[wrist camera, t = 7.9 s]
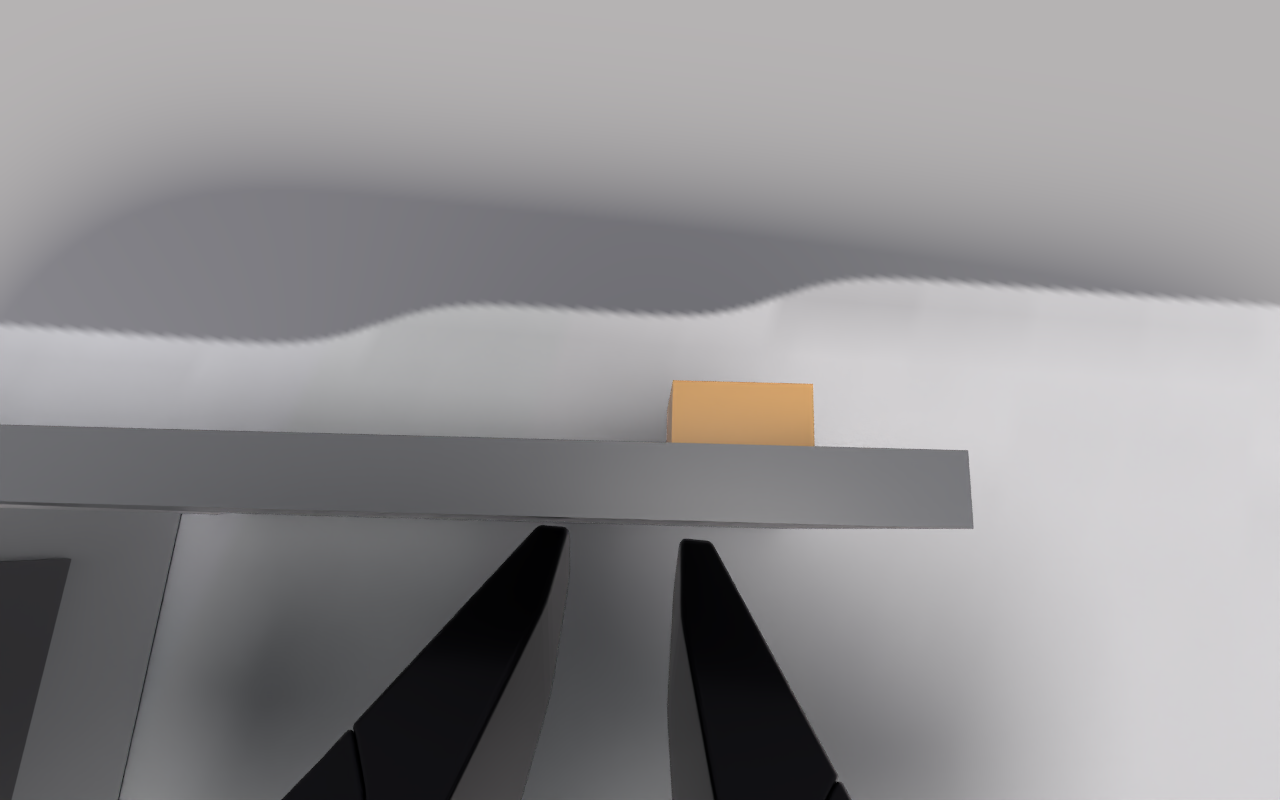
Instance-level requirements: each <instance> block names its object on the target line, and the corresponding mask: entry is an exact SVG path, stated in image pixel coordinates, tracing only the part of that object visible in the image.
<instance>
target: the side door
mask: <svg viewBox="0 0 1280 800" xmlns="http://www.w3.org/2000/svg"><path fill="white" fill-rule="evenodd" d="M0 508H24V509H55V510H86V511H117V512H148V513H179V514H210V515H218V514H222V513H247V514H282V515H318V516H353V517H389V518H424V519H460V520H495V521H531V522H566V523H602V524H637V525H673V526H708V527H744V528H779V529H974V528H973V513H972V499H971V485H970V471H969V457H968V450H931V449H894V448H856V447H819V446H814V409H813V384H795V383H756V382H717V381H677V380H673V382H672V388H671V393H670V398H669V403H668V408H667V440H666V442H631V441H594V440H556V439H519V438H481V437H444V436H406V435H369V434H331V433H294V432H256V431H219V430H181V429H144V428H106V427H69V426H31V425H0Z"/></svg>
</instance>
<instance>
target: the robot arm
mask: <svg viewBox="0 0 1280 800" xmlns="http://www.w3.org/2000/svg"><path fill="white" fill-rule="evenodd" d="M569 575H570V534H569V531H568V529H567V528H565V527H557V526H546V525H541V526H538V527H537V528H535V529H534V530H533V532H532V533H531V534H530V535H529V536H528V537H527V538H526V539H525V540H524V541H523V542H522V543H521V544H520V546H519V547H518V548H517V549H516V550H515V551H514V552H513V553H512V554H511V555H510V556H509V557H508V558H507V560H506V561H505V562H504V563H503V564H502V565H501V566H500V567H499V568H498V569H497V570H496V571H495V572H494V574H493V575H492V576H491V577H490V578H489V579H488V580H487V581H486V582H485V583H484V584H483V585H482V587H481V588H480V589H479V590H478V591H477V592H476V593H475V594H474V595H473V596H472V597H471V598H470V599H469V601H468V602H467V603H466V604H465V605H464V606H463V607H462V608H461V609H460V610H459V611H458V612H457V613H456V615H455V616H454V617H453V618H452V619H451V620H450V621H449V622H448V623H447V624H446V625H445V626H444V627H443V629H442V630H441V631H440V632H439V633H438V634H437V635H436V636H435V637H434V638H433V639H432V640H431V641H430V643H429V644H428V645H427V646H426V647H425V648H424V649H423V650H422V651H421V652H420V653H419V654H418V655H417V657H416V658H415V659H414V660H413V661H412V662H411V663H410V664H409V665H408V666H407V667H406V668H405V669H404V671H403V672H402V673H401V674H400V675H399V676H398V677H397V678H396V679H395V680H394V681H393V682H392V684H391V685H390V686H389V687H388V688H387V689H386V690H385V691H384V692H383V693H382V694H381V695H380V696H379V698H378V699H377V700H376V701H375V702H374V703H373V704H372V705H371V706H370V707H369V708H368V709H367V710H366V712H365V713H364V714H363V715H362V716H361V717H360V718H359V719H358V720H357V721H356V722H355V723H354V725H353V730H354V732H353V731H352V730H348V731H347V732H346V733H345V734H344V735H343V736H342V737H341V738H340V739H339V740H338V741H337V742H336V743H335V745H334V746H333V747H332V748H331V749H330V750H329V751H328V752H327V753H326V754H325V755H324V756H323V758H322V759H321V760H320V761H319V762H318V763H317V764H316V765H315V766H314V767H313V768H312V769H311V770H310V771H309V772H308V773H307V774H306V775H305V776H304V777H303V778H302V779H301V780H300V781H299V782H298V783H297V784H296V785H295V786H294V787H293V788H292V789H291V791H290V792H289V793H288V794H287V795H286V796H285V797H284V798H283V799H282V800H521V799H522V796H523V792H524V788H525V785H526V781H527V778H528V774H529V771H530V767H531V764H532V760H533V757H534V753H535V750H536V746H537V742H538V739H539V735H540V732H541V728H542V725H543V721H544V718H545V714H546V710H547V706H548V702H549V698H550V694H551V689H552V684H553V679H554V673H555V667H556V660H557V654H558V648H559V642H560V635H561V629H562V623H563V617H564V610H565V604H566V598H567V592H568V585H569ZM667 715H668V737H669V754H670V771H671V788H672V800H851V798H850V796H849V794H848V792H847V790H846V789H845V787H844V785H843V783H841V782H836V781H837V779H838V775H837V773H836V771H835V769H834V767H833V765H832V763H831V762H830V760H829V758H828V756H827V754H826V752H825V750H824V749H823V747H822V745H821V743H820V741H819V739H818V738H817V736H816V734H815V732H814V730H813V728H812V726H811V725H810V723H809V721H808V719H807V717H806V715H805V713H804V712H803V710H802V708H801V706H800V704H799V702H798V701H797V699H796V697H795V695H794V693H793V691H792V689H791V688H790V686H789V684H788V682H787V680H786V678H785V677H784V675H783V673H782V671H781V669H780V667H779V665H778V664H777V662H776V660H775V658H774V656H773V654H772V653H771V651H770V649H769V647H768V645H767V643H766V641H765V640H764V638H763V636H762V634H761V632H760V630H759V629H758V627H757V625H756V623H755V621H754V619H753V617H752V616H751V614H750V612H749V610H748V608H747V606H746V605H745V603H744V601H743V599H742V597H741V595H740V593H739V592H738V590H737V588H736V586H735V584H734V582H733V581H732V579H731V577H730V575H729V573H728V571H727V569H726V568H725V566H724V564H723V562H722V560H721V558H720V557H719V555H718V553H717V551H716V549H715V547H714V546H713V544H712V543H711V542H709V541H704V540H693V539H683V540H682V541H681V542H680V544H679V551H678V558H677V566H676V574H675V582H674V593H673V609H672V626H671V643H670V659H669V676H668V698H667Z"/></svg>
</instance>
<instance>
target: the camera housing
mask: <svg viewBox="0 0 1280 800" xmlns="http://www.w3.org/2000/svg"><path fill="white" fill-rule="evenodd" d="M180 516H181V514H179V513H148V512H117V511H86V510H55V509H24V508H0V800H118V797H119V793H120V788H121V783H122V779H123V774H124V770H125V765H126V761H127V756H128V752H129V747H130V743H131V738H132V734H133V729H134V724H135V720H136V715H137V711H138V706H139V702H140V697H141V693H142V688H143V684H144V679H145V675H146V670H147V665H148V661H149V656H150V652H151V647H152V643H153V638H154V634H155V629H156V625H157V620H158V615H159V611H160V606H161V602H162V597H163V593H164V588H165V584H166V579H167V575H168V570H169V566H170V561H171V556H172V552H173V547H174V543H175V538H176V534H177V529H178V525H179V520H180Z"/></svg>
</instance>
